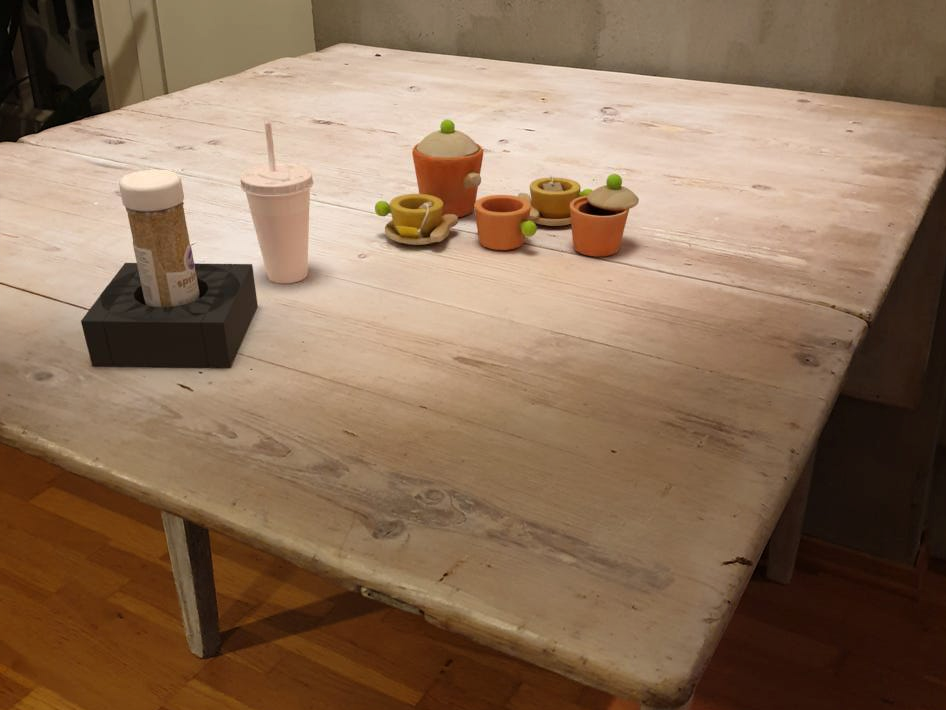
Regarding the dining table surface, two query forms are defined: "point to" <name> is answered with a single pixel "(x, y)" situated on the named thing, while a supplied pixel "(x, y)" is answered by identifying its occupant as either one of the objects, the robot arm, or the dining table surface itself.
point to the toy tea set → (500, 202)
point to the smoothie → (280, 214)
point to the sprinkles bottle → (160, 237)
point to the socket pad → (172, 321)
